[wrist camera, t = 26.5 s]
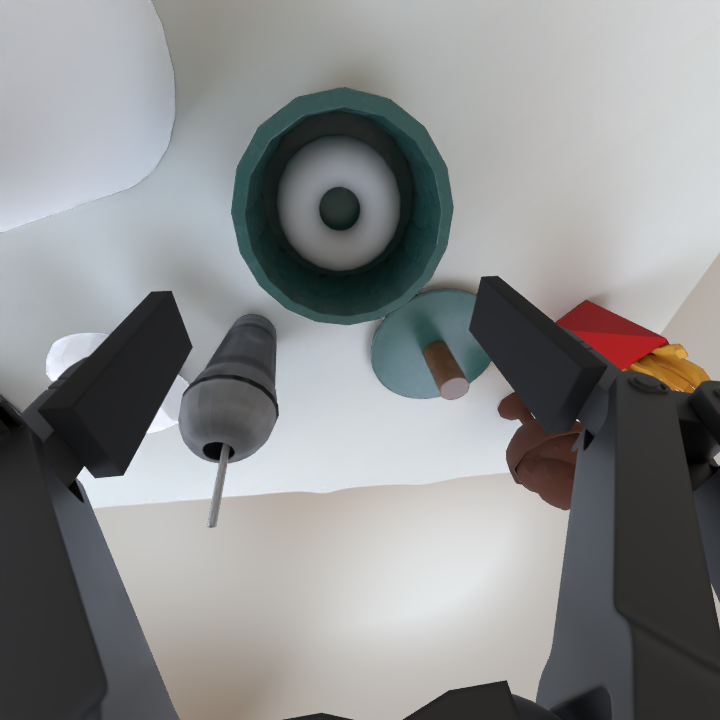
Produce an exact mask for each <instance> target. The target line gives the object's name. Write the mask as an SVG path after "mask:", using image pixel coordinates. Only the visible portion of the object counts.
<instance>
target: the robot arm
mask: <svg viewBox="0 0 720 720" xmlns="http://www.w3.org/2000/svg"><path fill="white" fill-rule="evenodd" d="M469 331H470V332H471V334H472V335H473V336H474V338H475V339H476V340H477V342H478V343H479V344H480V346H481V347H482V348H483V350H484V351H485V352H486V354H487V355H488V356H489V358H490V359H491V360H492V361H493V363H494V364H495V365H496V367H497V368H498V369H499V371H500V372H501V373H502V375H503V376H504V377H505V379H506V380H507V381H508V383H509V384H510V385H511V387H512V388H513V389H514V390H515V392H516V393H517V394H518V396H519V397H520V398H521V400H522V401H523V402H524V404H525V405H526V406H527V408H528V409H529V410H530V412H531V413H532V414H533V415H534V417H535V418H536V419H537V421H538V422H539V423H540V425H541V426H542V427H543V429H544V430H545V431H546V433H547V434H553V433H563V432H569V431H570V430H571V428H572V426H573V425H574V423H575V421H576V419H578V420H579V421H580V422H581V423H582V425H583V426H584V429H583V431H582V432H581V434H580V435H579V437H578V439H577V440H576V442H575V443H574V445H573V447H572V448H571V451H573V452H574V451H575V450H576V448H578V453H577V461H576V469H575V476H574V484H573V491H572V499H571V507H570V515H569V522H568V530H567V538H566V545H565V553H564V561H563V568H562V575H561V583H560V591H559V598H558V606H557V614H556V622H555V629H554V637H553V644H552V649H551V653H550V656H549V659H548V661H547V663H546V665H545V668H544V670H543V672H542V675H541V679H540V682H539V687H538V692H537V697H536V703H534V702H533V701H530V700H528V699H525V698H522V697H520V696H517V695H513V694H511V691H510V688H509V686H508V683H507V681H500V682H494V683H489V684H484V685H477V686H472V687H466V688H460V689H455V690H449V691H447V692H446V693H444V694H443V695H441V696H439V697H438V698H436V699H435V700H433V701H432V702H430V703H429V704H427V705H425V706H424V707H422V708H420V709H419V710H417V711H416V712H414V713H413V714H411V715H410V716H408V717H406V718H405V719H403V720H720V628H719V623H718V618H717V613H716V608H715V603H714V598H713V593H712V588H711V584H712V586H713V588H714V591H715V593H716V595H717V597H718V599H719V602H720V466H718V464H717V463H716V461H715V460H714V458H713V457H714V456H716V455H717V454H718V453H719V452H720V381H711V380H707V381H703V382H701V383H700V384H699V386H698V387H697V388H696V389H695V390H694V392H693V393H688V392H680V391H673V390H671V389H670V387H669V386H667V385H666V384H665V383H664V382H663V381H661V380H659V379H657V378H655V377H653V376H651V375H648V374H645V373H642V372H637V371H622V370H621V369H619V368H618V367H617V366H616V365H614V364H613V363H612V362H611V361H609V360H608V359H607V358H606V357H604V356H603V355H602V354H600V353H599V352H598V351H597V350H593V347H592V346H590V345H589V344H588V343H585V341H584V340H583V339H582V338H580V337H579V336H578V335H577V334H575V333H574V332H572V331H570V330H567V329H565V328H563V327H561V326H558V325H557V324H556V323H555V322H553V321H552V320H551V319H550V318H549V317H547V316H546V315H545V314H544V313H542V312H541V311H540V310H539V309H538V308H536V307H535V306H534V305H533V304H531V303H530V302H529V301H528V300H527V299H525V298H524V297H523V296H522V295H520V294H519V293H518V292H517V291H516V290H514V289H513V288H512V287H511V286H509V285H508V284H507V283H506V282H505V281H503V280H502V279H501V278H500V277H498V276H487V277H481V281H480V285H479V289H478V293H477V297H476V301H475V306H474V310H473V314H472V318H471V322H470V326H469ZM192 348H193V347H192V344H191V341H190V339H189V336H188V333H187V331H186V328H185V325H184V323H183V320H182V318H181V315H180V312H179V310H178V307H177V304H176V302H175V299H174V296H173V294H172V291H156V292H151V293H150V294H149V295H148V296H147V297H146V298H145V299H144V300H143V301H142V302H141V303H140V304H139V305H138V306H137V307H136V308H135V309H134V310H133V311H132V312H131V313H130V314H129V315H128V316H127V318H126V319H125V320H124V321H123V322H122V323H121V324H120V325H119V326H118V327H117V328H116V329H115V330H114V331H113V332H112V333H111V334H110V335H109V336H108V337H107V338H106V339H105V340H104V341H103V342H102V343H101V344H100V345H99V346H98V348H97V349H96V350H95V351H94V352H93V353H92V354H91V355H90V356H89V357H84V358H83V359H81V360H80V361H78V362H76V363H75V364H73V365H71V366H70V367H68V368H67V369H66V370H65V371H64V372H63V373H62V374H61V375H60V376H59V377H58V378H57V379H58V380H55V381H54V382H53V383H52V384H51V385H50V386H49V387H48V390H45V391H44V392H43V393H42V394H41V395H40V396H39V397H38V398H37V399H36V400H35V401H34V402H33V403H32V404H31V405H30V406H29V407H28V408H27V409H26V410H25V411H24V412H23V413H22V414H20V413H19V412H18V411H17V410H16V409H15V408H14V407H13V406H12V405H11V404H10V403H8V402H7V401H6V400H5V399H4V398H3V397H2V396H0V720H180V718H179V717H178V715H177V713H176V711H175V709H174V707H173V704H172V702H171V699H170V697H169V694H168V692H167V690H166V687H165V685H164V682H163V680H162V677H161V675H160V672H159V670H158V668H157V665H156V663H155V660H154V658H153V655H152V653H151V651H150V648H149V646H148V643H147V641H146V638H145V636H144V633H143V631H142V629H141V626H140V624H139V621H138V619H137V616H136V614H135V611H134V609H133V607H132V604H131V602H130V600H129V597H128V594H127V592H126V589H125V587H124V585H123V582H122V580H121V577H120V575H119V572H118V570H117V568H116V565H115V563H114V560H113V558H112V555H111V553H110V550H109V548H108V546H107V543H106V541H105V538H104V536H103V533H102V531H101V529H100V526H99V524H98V521H97V519H96V516H95V514H94V511H93V509H92V506H91V504H90V502H89V499H88V497H87V494H86V492H85V489H84V487H83V485H82V484H81V483H80V481H79V480H78V479H77V478H76V477H77V476H78V474H79V473H80V471H81V470H82V468H83V467H84V466H85V467H86V468H87V469H88V471H89V472H90V473H91V474H92V475H93V476H94V478H102V477H112V476H123V475H124V473H125V472H126V470H127V468H128V466H129V464H130V462H131V460H132V459H133V457H134V455H135V453H136V451H137V449H138V448H139V446H140V444H141V442H142V440H143V438H144V436H145V435H146V433H147V431H148V429H149V427H150V425H151V423H152V422H153V420H154V418H155V416H156V414H157V412H158V410H159V409H160V407H161V405H162V403H163V401H164V399H165V398H166V396H167V394H168V392H169V390H170V388H171V386H172V385H173V383H174V381H175V379H176V377H177V375H178V373H179V372H180V370H181V368H182V366H183V364H184V362H185V360H186V359H187V357H188V355H189V353H190V351H191V349H192ZM284 720H352V719H348V718H343V717H338V716H334V715H329V714H325V713H319V714H312V715H307V716H301V717H296V718H290V719H284Z"/></svg>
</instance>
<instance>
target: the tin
mask: <svg viewBox="0 0 720 720" xmlns="http://www.w3.org/2000/svg"><path fill="white" fill-rule="evenodd" d="M330 135H348V136H351V137H354V138H356V139H359V140H362V141H365V142H367V143H368V144H369V145H371V146H372V147H373V148H374V149H376V150H377V151H378V152H379V153H380V154H382V155H383V156H384V158H385V159H386V161H387V163H388V164H389V166H390V167H391V169H392V171H393V172H394V174H395V177H396V180H397V184H398V188H399V192H400V196H401V203H400V219H399V222H398V225H397V228H396V231H395V234H394V237H393V238H392V240H391V241H390V243H389V244H388V246H387V247H386V249H385V250H384V252H383V253H381V254H380V255H379V256H378V257H376V258H375V259H374V260H373V261H371V262H370V263H369V264H366V265H364V266H361V267H359V268H356V269H354V270H344V271H333V270H329V269H324V268H320V267H317V266H316V265H314V264H312V263H311V262H309V261H307V260H305V259H304V258H302V257H301V256H300V255H299V253H298V252H297V251H296V250H295V249H294V248H293V247H292V246H291V245H290V244H289V242H288V240H287V238H286V236H285V234H284V232H283V230H282V228H281V226H280V221H279V216H278V210H277V204H276V201H277V193H278V184H279V180H280V178H281V176H282V173H283V171H284V169H285V167H286V165H287V163H288V161H289V160H290V159H291V158H292V157H293V156H294V154H295V153H296V152H297V151H298V150H299V149H300V148H301V147H302V146H303V145H305V144H307V143H309V142H311V141H314V140H316V139H318V138H320V137H322V136H330ZM453 208H454V207H453V201H452V194H451V188H450V182H449V175H448V169H447V167H446V164H445V162H444V160H443V159H442V157H441V155H440V153H439V151H438V150H437V148H436V146H435V144H434V142H433V141H432V139H431V137H430V135H429V133H428V132H427V130H426V129H425V127H424V126H423V125H422V124H420V123H419V122H418V121H417V120H415V119H414V118H413V117H412V116H410V115H409V114H408V113H407V112H405V111H404V110H403V109H402V108H400V107H399V106H398V105H397V104H395V103H394V102H393V101H392V100H391V99H388V98H385V97H381V96H377V95H373V94H369V93H365V92H361V91H357V90H353V89H349V88H345V87H344V88H342V87H341V88H337V89H332V90H328V91H323V92H318V93H314V94H309V95H304V96H300V97H298V98H295V99H294V100H292V101H291V102H290V103H289V104H287V105H286V106H285V107H283V108H282V109H281V110H280V111H278V112H277V113H276V114H274V115H273V116H272V117H271V118H269V119H268V120H267V121H265V122H264V123H263V124H261V125H260V127H258V129H257V131H256V133H255V135H254V137H253V138H252V140H251V142H250V144H249V146H248V148H247V149H246V151H245V153H244V155H243V157H242V159H241V160H240V162H239V164H238V166H237V169H236V177H235V185H234V193H233V201H232V209H231V214H232V219H233V223H234V228H235V232H236V237H237V241H238V246H239V251H240V254H241V255H242V257H243V259H244V260H245V262H246V264H247V265H248V267H249V269H250V270H251V272H252V274H253V275H254V277H255V279H256V280H257V282H258V284H259V285H260V286H261V287H262V288H263V289H264V290H265V291H267V292H268V293H269V294H270V295H271V296H272V297H273V298H275V299H276V300H277V301H278V302H279V303H280V304H281V305H283V306H284V307H285V308H287V309H288V310H291V311H293V312H295V313H297V314H300V315H302V316H304V317H307V318H309V319H311V320H313V321H317V322H323V323H333V324H342V325H351V324H356V323H361V322H366V321H371V320H376V319H380V318H381V317H383V316H385V315H387V314H389V313H391V312H392V311H394V310H396V309H398V308H400V307H402V306H403V305H405V304H407V303H408V302H409V301H410V300H411V299H412V298H413V297H414V296H415V295H416V294H417V293H418V292H419V291H420V290H421V289H422V287H423V286H424V285H425V284H426V283H427V282H428V281H429V280H430V279H431V277H432V275H433V274H434V272H435V270H436V268H437V266H438V264H439V262H440V260H441V258H442V256H443V254H444V252H445V250H446V248H447V244H448V238H449V232H450V226H451V220H452V214H453ZM319 212H320V216H321V219H322V221H323V222H324V224H325V225H326V226H328V227H329V228H331V229H333V230H337V231H342V230H346V229H349V228H351V227H352V226H353V225H354V224H355V223H356V221H357V220H358V218H359V215H360V204H359V201H358V198H357V197H356V196H355V194H354V193H353V192H352V191H350V190H349V189H347V188H344V187H334V188H332V189H330V190H328V191H327V192H326V193H325V194H324V195H323V197H322V199H321V201H320V205H319Z"/></svg>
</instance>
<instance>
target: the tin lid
mask: <svg viewBox="0 0 720 720" xmlns="http://www.w3.org/2000/svg"><path fill="white" fill-rule="evenodd" d="M476 297H477V296H475V295H473V294H471V293H468V292H465V291H460V290H450V289H444V290H435V291H430V292H426V293H423V294H420V295H417V296H415V297H413V298H412V299H411V300H410V301H409V302H408V303H407V304H405V305H403V306H402V307H400V308H398V309H396V310H394V311H392V312H391V313H390V314H389V315H388V316H387V317H386V318H385V320H384V321H383V322H382V323H381V325H380V327H379V328H378V330H377V332H376V334H375V336H374V339H373V342H372V347H371V362H372V366H373V370H374V372H375V374H376V376H377V378H378V379H379V381H380V382H381V383H382V384H383V385H384V386H385V387H386V388H388V389H389V390H391V391H392V392H394V393H396V394H399V395H401V396H405V397H409V398H417V399H428V398H436V397H440V396H442V397H443V398H445V399H448V400H454V399H458V398H460V397H462V396H463V395H464V394H466V392H467V391H468V389H469V383H471V382H472V381H473V380H475V379H476V378H477V377H478V376H479V375H480V374H481V373H482V372H483V371H484V370H485V369H486V368H487V366H488V365H489V364H490V362H491V361H492V360H491V359H490V358H489V356H488V355H487V354H486V352H485V351H484V350H483V348H482V347H481V346H480V344H479V343H478V342H477V340H476V339H475V338H474V336H473V335H472V334H471V332H470V331H469V326H470V322H471V318H472V314H473V310H474V306H475V301H476Z"/></svg>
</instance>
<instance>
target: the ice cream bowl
mask: <svg viewBox="0 0 720 720" xmlns="http://www.w3.org/2000/svg"><path fill="white" fill-rule="evenodd" d="M498 411H499V413H500V416H501V417H503V418H505V419H509V420H516V419H519V420H520V421H521V423H522V424H523V425H522V426H521V427H520V428H519V429H517V431H516V433H515V434H514V436H513V438H512V439H511V441H510V443H509V445H508V448H507V450H506V460H507V464H508V467H509V470H510V472H511V474H512V476H513V478H514V480H515V482H516V483H517V484H522V485H523V486H524V487H525V488H527V489H528V490H530V491H533V492H536V493H538V494H539V495H540V497H541V498H542V499H543V500H544V501H546V502H547V503H549V504H550V505H552V506H555V507H557V508H561V509H562V510H569V509H570V507H571V499H572V491H573V484H574V476H575V469H576V461H577V453H578V448H576V450H575V451H574V452H573V451H571V448H572V447H573V445H574V443H575V442H576V440H577V439H578V437H579V435H580V434H581V432H582V431H583V429H584V426H583V425H582V423H580V422H578V421H575V423H574V425H573V426H572V428H571V430H570V431H569V432H563V433H553V434H547V433H546V431H545V430H544V429H543V427H542V426H541V425H540V423H539V422H538V421H537V419H535V418H534V417H533V416H532V414H531V412H530V410H529V409H528V408H527V406H526V405H525V404H524V402H523V401H522V400H521V398H520V397H519V396H518V394H517V393H516V392H515V393H512V394H510V395H509V396H508V397H506V398H505V399H503V400H502V401H501V403H500V405H499V407H498Z"/></svg>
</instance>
